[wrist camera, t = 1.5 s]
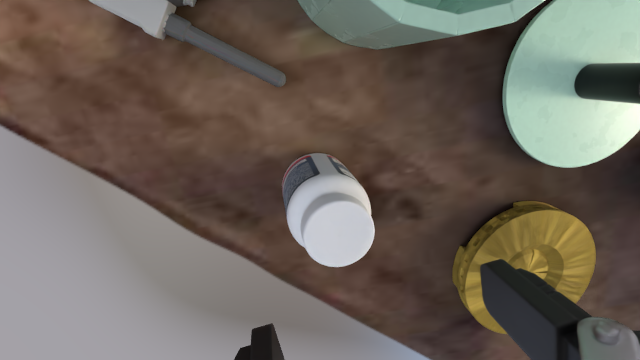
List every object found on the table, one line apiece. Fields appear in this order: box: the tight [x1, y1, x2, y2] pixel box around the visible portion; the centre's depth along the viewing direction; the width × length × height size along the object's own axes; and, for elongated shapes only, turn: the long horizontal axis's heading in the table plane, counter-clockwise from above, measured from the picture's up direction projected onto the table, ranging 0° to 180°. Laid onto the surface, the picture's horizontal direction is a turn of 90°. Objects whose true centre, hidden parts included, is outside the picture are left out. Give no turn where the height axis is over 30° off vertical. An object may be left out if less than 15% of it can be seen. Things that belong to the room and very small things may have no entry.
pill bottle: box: [282, 153, 375, 267], centre depth 23 cm, size 5×5×9 cm
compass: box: [452, 201, 596, 334], centre depth 32 cm, size 12×12×2 cm
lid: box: [503, 0, 640, 168], centre depth 25 cm, size 14×14×6 cm
